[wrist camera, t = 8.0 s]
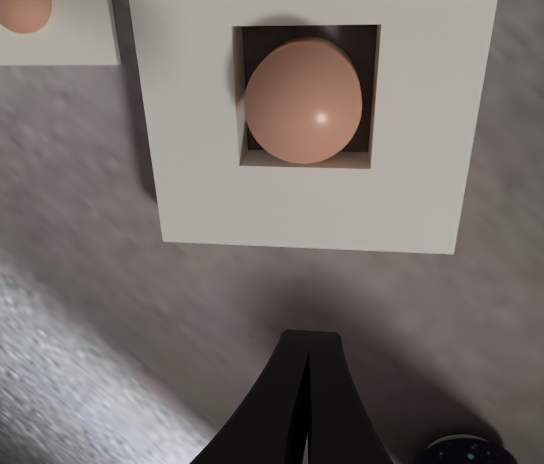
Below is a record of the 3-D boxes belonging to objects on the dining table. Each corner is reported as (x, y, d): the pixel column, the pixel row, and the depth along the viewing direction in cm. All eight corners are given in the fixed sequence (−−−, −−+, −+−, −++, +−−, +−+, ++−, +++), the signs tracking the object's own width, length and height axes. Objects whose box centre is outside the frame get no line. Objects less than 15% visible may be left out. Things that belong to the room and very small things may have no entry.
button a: (357, 143, 20) (358, 165, 17) (257, 141, 20) (246, 162, 18) (363, 35, 18) (366, 44, 16) (253, 37, 18) (241, 45, 16)
